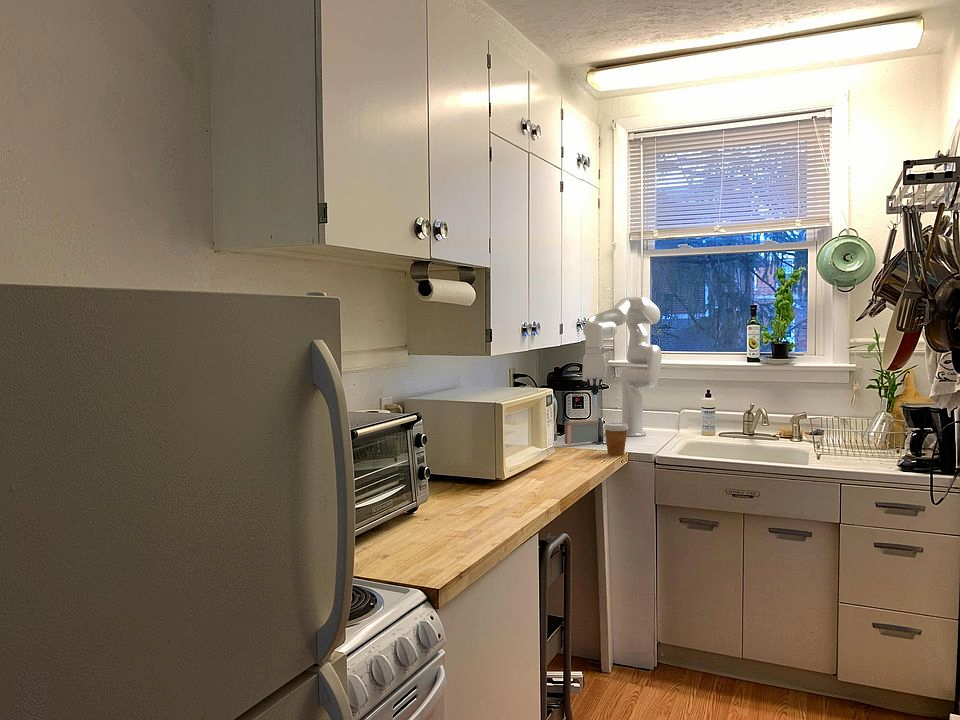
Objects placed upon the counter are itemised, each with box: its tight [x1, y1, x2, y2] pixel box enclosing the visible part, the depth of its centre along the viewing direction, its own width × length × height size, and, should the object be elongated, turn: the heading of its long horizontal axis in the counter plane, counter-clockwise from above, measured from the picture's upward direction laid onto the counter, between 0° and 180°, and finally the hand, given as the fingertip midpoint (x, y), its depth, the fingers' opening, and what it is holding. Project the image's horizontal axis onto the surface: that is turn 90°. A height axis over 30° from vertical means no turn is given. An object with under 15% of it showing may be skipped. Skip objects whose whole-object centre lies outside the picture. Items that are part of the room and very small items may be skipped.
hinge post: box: [591, 417, 607, 445], centre depth 317 cm, size 7×7×11 cm
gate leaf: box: [564, 419, 599, 445], centre depth 312 cm, size 16×2×9 cm, turn 120°
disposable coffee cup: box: [603, 422, 628, 457], centre depth 290 cm, size 10×10×12 cm
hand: (594, 394), depth 312 cm, fingers closed
